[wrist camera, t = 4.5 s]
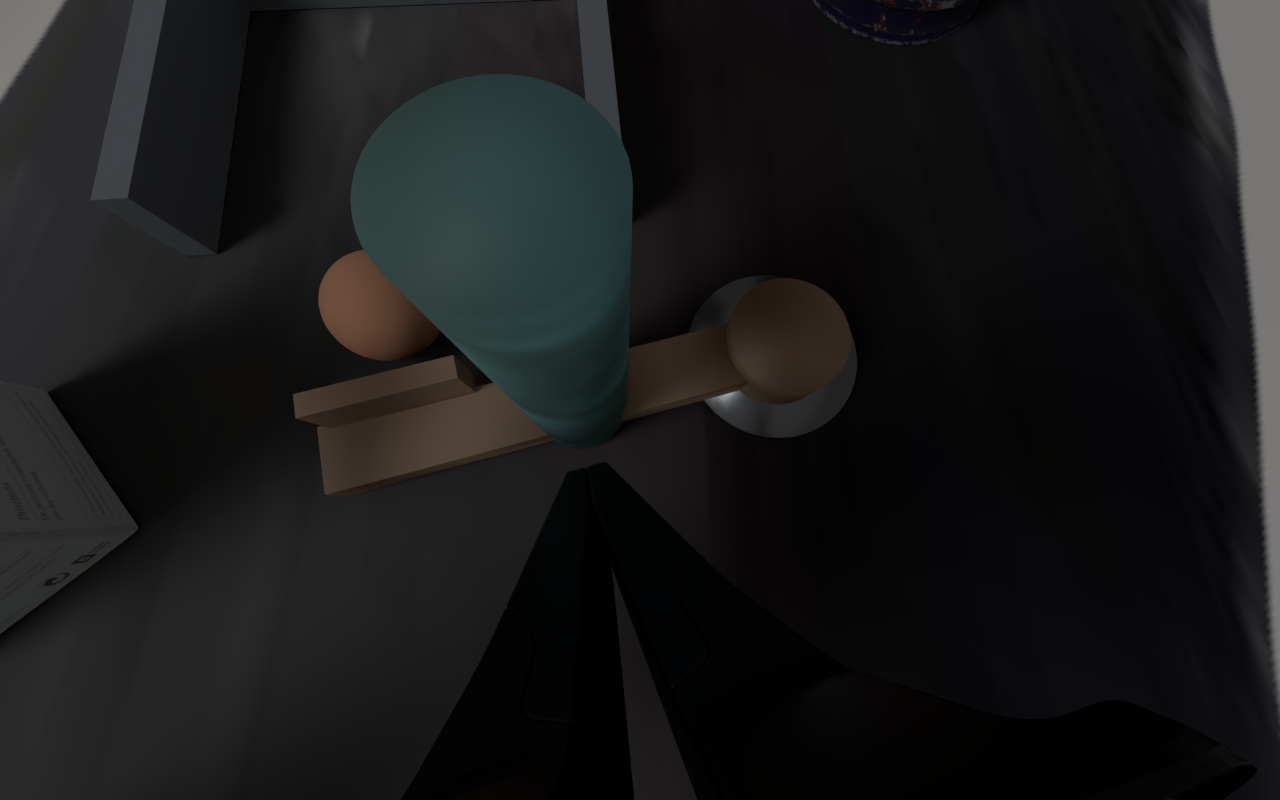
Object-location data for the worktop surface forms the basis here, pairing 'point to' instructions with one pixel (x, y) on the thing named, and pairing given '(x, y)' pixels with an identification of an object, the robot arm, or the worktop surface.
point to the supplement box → (48, 503)
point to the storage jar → (899, 18)
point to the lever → (532, 293)
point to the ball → (371, 311)
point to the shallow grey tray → (226, 108)
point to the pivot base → (765, 416)
